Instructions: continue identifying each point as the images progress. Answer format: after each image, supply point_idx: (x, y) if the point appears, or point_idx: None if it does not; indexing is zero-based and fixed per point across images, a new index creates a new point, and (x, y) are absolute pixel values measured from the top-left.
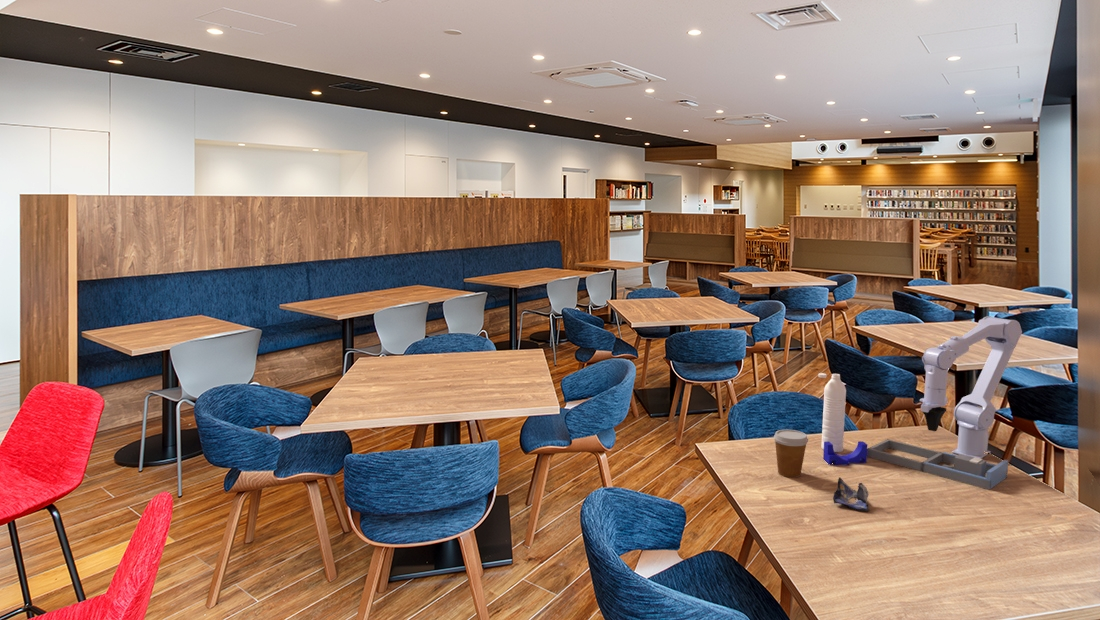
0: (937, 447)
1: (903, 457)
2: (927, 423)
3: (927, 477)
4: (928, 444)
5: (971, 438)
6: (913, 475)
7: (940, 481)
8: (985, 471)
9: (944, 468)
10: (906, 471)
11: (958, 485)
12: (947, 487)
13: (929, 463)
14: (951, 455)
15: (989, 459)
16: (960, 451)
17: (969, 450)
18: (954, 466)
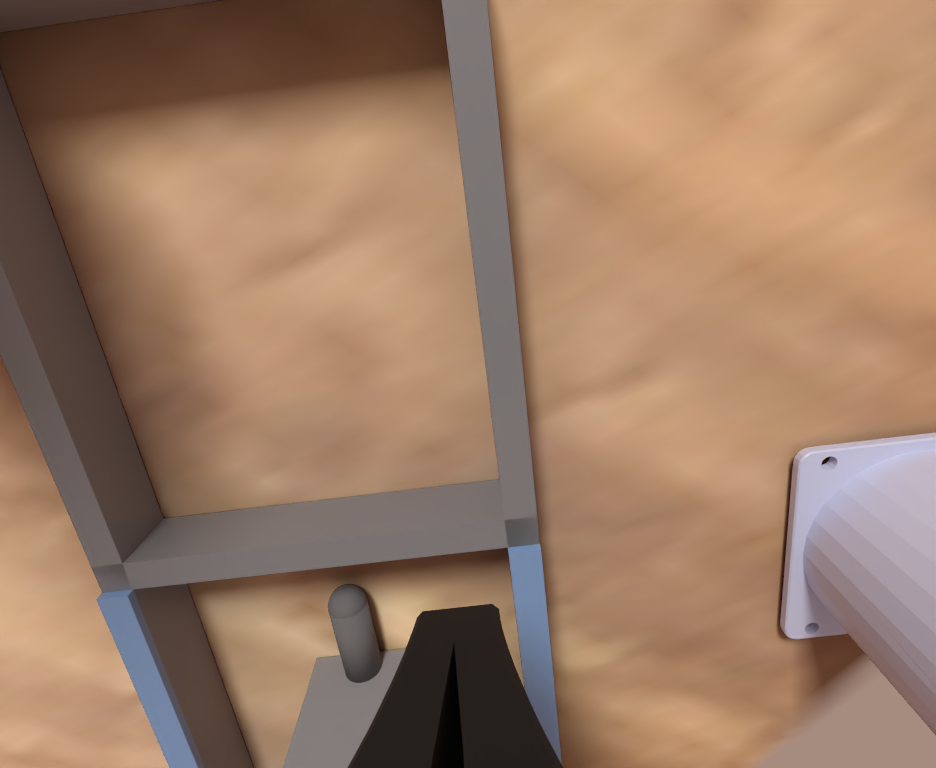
0: (879, 289)
1: (47, 410)
2: (381, 717)
3: (75, 607)
4: (921, 181)
5: (924, 711)
6: (2, 539)
7: (100, 679)
8: None
9: (152, 722)
10: (17, 469)
11: (153, 755)
12: (54, 740)
13: (124, 626)
14: (516, 614)
15: (849, 653)
16: (828, 514)
17: (830, 601)
18: (301, 715)
